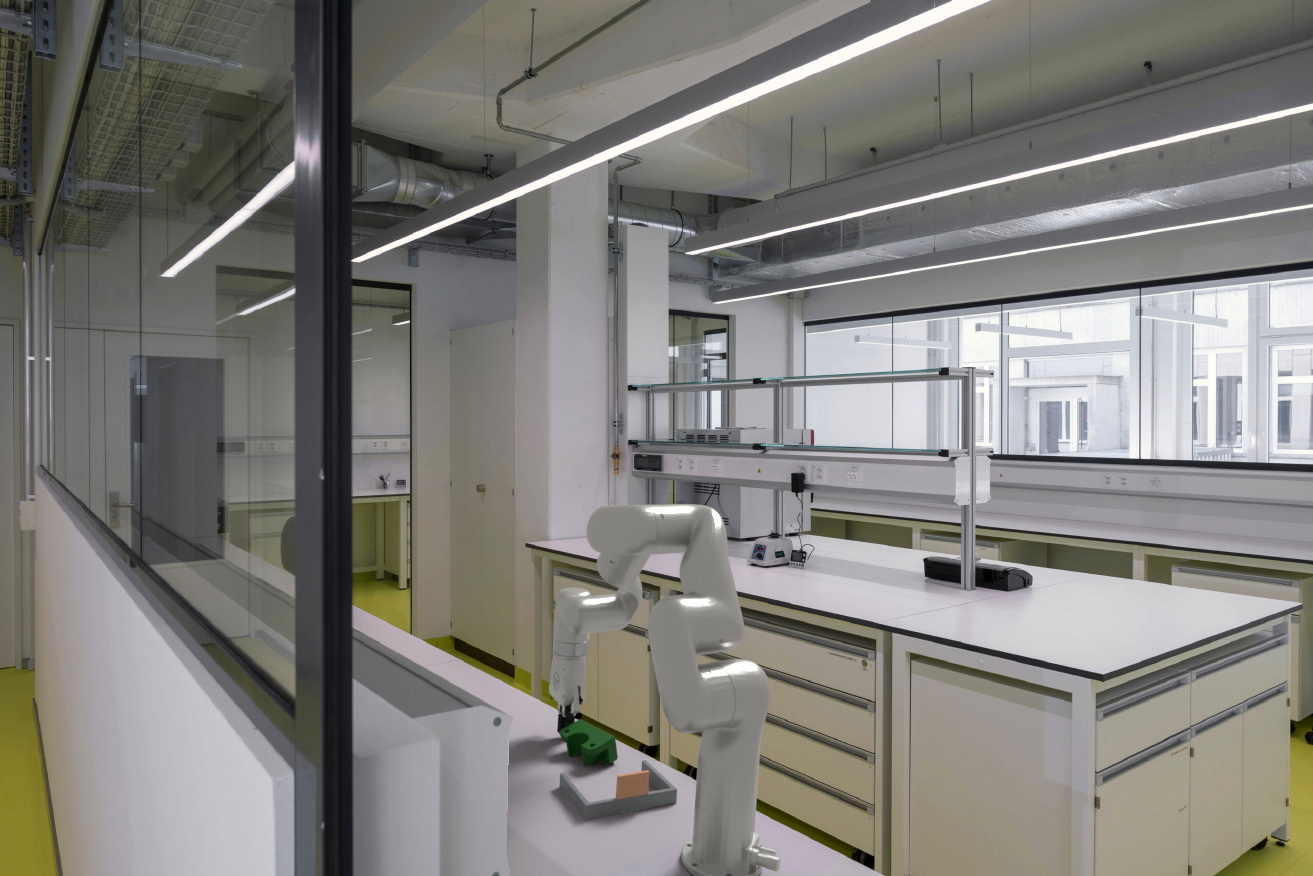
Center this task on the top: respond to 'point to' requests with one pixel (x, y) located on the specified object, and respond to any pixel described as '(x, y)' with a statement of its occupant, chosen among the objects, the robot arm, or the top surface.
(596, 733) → the clamp
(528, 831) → the top surface
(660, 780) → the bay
